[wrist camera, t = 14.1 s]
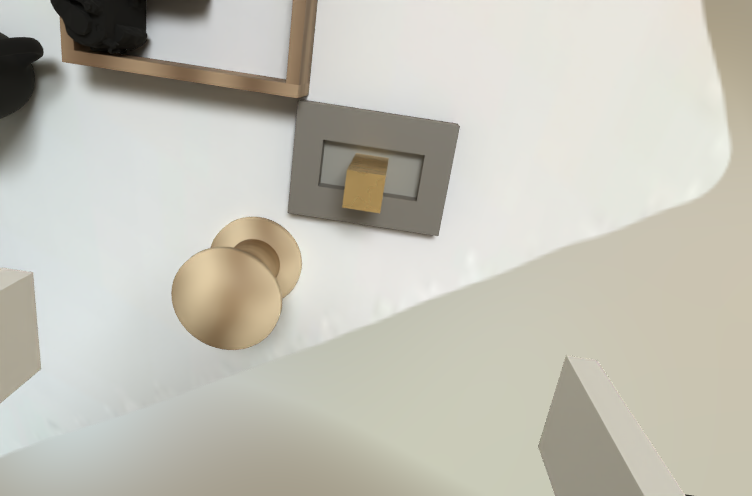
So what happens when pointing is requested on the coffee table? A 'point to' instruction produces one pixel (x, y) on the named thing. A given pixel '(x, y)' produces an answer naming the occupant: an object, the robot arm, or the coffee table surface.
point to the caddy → (289, 87)
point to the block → (365, 183)
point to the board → (377, 138)
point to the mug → (17, 71)
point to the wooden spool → (237, 284)
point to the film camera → (104, 23)
